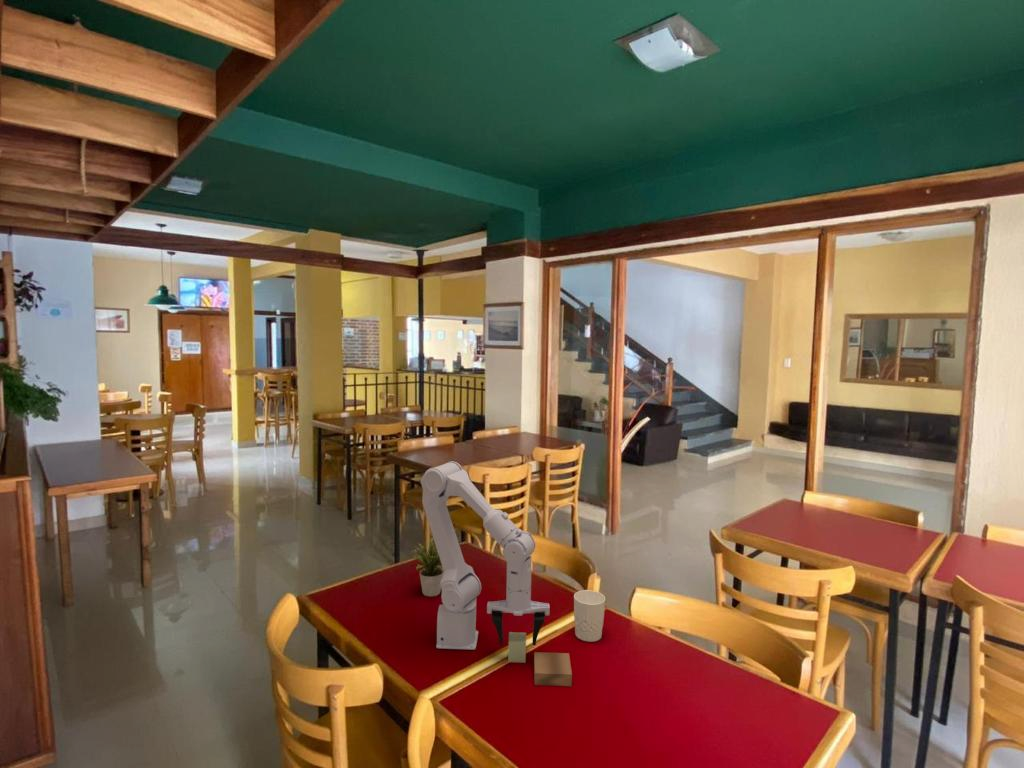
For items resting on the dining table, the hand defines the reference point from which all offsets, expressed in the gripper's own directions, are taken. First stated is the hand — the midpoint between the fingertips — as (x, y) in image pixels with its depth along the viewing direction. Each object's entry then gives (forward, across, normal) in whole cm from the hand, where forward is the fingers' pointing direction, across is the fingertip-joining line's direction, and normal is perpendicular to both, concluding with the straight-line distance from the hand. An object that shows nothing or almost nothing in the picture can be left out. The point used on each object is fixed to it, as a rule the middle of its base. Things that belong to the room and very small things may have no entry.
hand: (517, 642), depth 125 cm
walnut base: (+4, +8, -6) cm, 11 cm away
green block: (+4, 0, 0) cm, 4 cm away
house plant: (+4, -26, +30) cm, 40 cm away
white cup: (+4, +18, +11) cm, 21 cm away
